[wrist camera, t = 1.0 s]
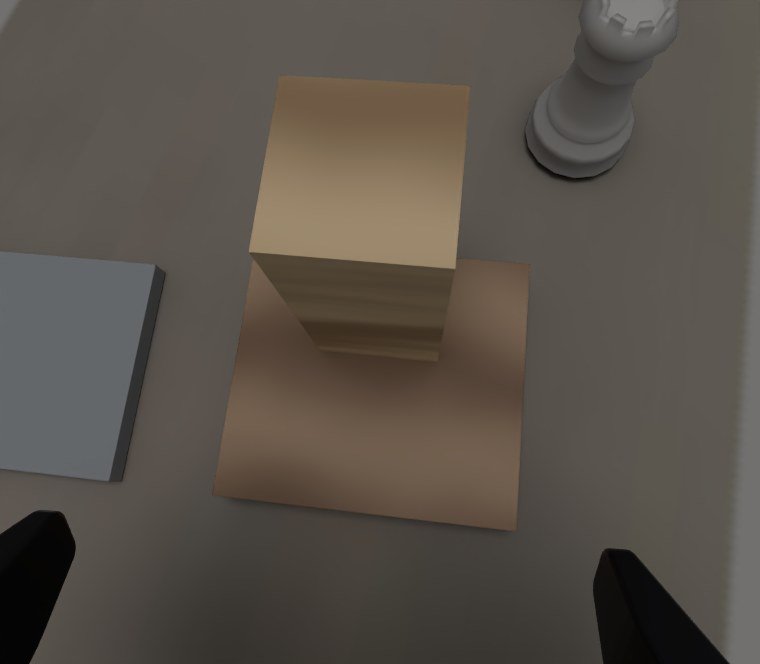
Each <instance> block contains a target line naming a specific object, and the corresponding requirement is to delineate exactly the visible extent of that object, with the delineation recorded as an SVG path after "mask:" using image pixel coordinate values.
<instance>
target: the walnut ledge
mask: <svg viewBox="0 0 760 664" xmlns="http://www.w3.org/2000/svg"><path fill="white" fill-rule="evenodd" d="M529 269H530V264H522V263H510V262H498V261H485V260H473V259H461V258H456V266H455V273H454V278H453V283H452V288H451V294H450V299H449V304H448V309H447V315H446V320H445V325H444V330H443V336H442V341H441V346H440V351H439V357H438V362H431V361H421V360H410V359H400V358H389V357H379V356H368V355H358V354H348V353H337V352H327V351H320V349H319V348H318V347H317V345H316V344H315V343H314V341H313V340H312V338H311V337H310V336H309V334H308V333H307V332H306V330H305V329H304V327H303V326H302V325H301V323H300V322H299V321H298V319H297V318H296V316H295V315H294V314H293V312H292V311H291V309H290V308H289V307H288V305H287V304H286V303H285V301H284V300H283V298H282V297H281V296H280V294H279V293H278V292H277V290H276V289H275V287H274V286H273V285H272V283H271V282H270V281H269V279H268V278H267V276H266V275H265V274H264V272H263V271H262V270H261V268H260V267H259V265H258V264H257V263H256V261H255V260H254V259H253V262H252V268H251V274H250V280H249V286H248V291H247V297H246V303H245V309H244V314H243V320H242V326H241V332H240V337H239V343H238V349H237V355H236V361H235V366H234V372H233V378H232V384H231V389H230V395H229V401H228V407H227V412H226V418H225V424H224V430H223V436H222V441H221V447H220V453H219V459H218V464H217V470H216V476H215V482H214V487H213V493H212V495H214V496H223V497H231V498H239V499H248V500H256V501H265V502H273V503H281V504H290V505H298V506H307V507H315V508H323V509H332V510H340V511H349V512H357V513H365V514H374V515H382V516H391V517H399V518H408V519H416V520H424V521H433V522H441V523H450V524H458V525H466V526H475V527H483V528H492V529H500V530H508V531H516V527H517V507H518V487H519V467H520V447H521V427H522V408H523V388H524V368H525V348H526V328H527V309H528V289H529Z"/></svg>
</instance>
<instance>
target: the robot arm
mask: <svg viewBox="0 0 760 664" xmlns="http://www.w3.org/2000/svg"><path fill="white" fill-rule="evenodd" d="M75 550H76V545H75V540H74V538H73V535H72V533H71V530H70V528H69V525H68V523H67V520H66V518H65V516H64V514H63V513H61V512H59V511H49V510H38V511H35V512H33V513H31V514H29V515H28V516H26V517H25V518H23V519H22V520H21V521H19V522H18V523H16V524H15V525H13V526H12V527H10V528H9V529H7V530H6V531H4V532H3V533H1V534H0V664H29V663H30V661H31V659H32V657H33V655H34V653H35V651H36V649H37V647H38V645H39V643H40V640H41V638H42V636H43V633H44V631H45V629H46V626H47V624H48V621H49V619H50V616H51V614H52V611H53V609H54V606H55V604H56V601H57V599H58V596H59V594H60V591H61V589H62V586H63V584H64V581H65V579H66V576H67V574H68V571H69V569H70V566H71V564H72V561H73V559H74V556H75ZM593 595H594V602H595V609H596V616H597V623H598V630H599V636H600V643H601V650H602V657H603V664H729V662H728V661H727V660H726V659H725V658H724V657H723V655H722V654H721V653H720V652H719V651H718V650H717V649H716V647H715V646H714V645H713V644H712V643H711V642H710V640H709V639H708V638H707V637H706V636H705V635H704V633H703V632H702V631H701V630H700V629H699V628H698V627H697V625H696V624H695V623H694V622H693V621H692V620H691V618H690V617H689V616H688V615H687V614H686V613H685V612H684V610H683V609H682V608H681V607H680V606H679V605H678V603H677V602H676V601H675V600H674V599H673V598H672V596H671V595H670V594H669V593H668V592H667V591H666V590H665V588H664V587H663V586H662V585H661V584H660V583H659V581H658V580H657V579H656V578H655V577H654V576H653V575H652V573H651V572H650V571H649V570H648V569H647V568H646V566H645V565H644V564H643V563H642V562H641V561H640V559H639V558H638V557H637V556H636V555H635V554H634V553H633V552H631V551H630V550H626V549H612V548H607V549H605V550H604V551H603V552H602V554H601V558H600V561H599V564H598V568H597V571H596V574H595V578H594V582H593Z"/></svg>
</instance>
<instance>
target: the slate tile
mask: <svg viewBox="0 0 760 664" xmlns="http://www.w3.org/2000/svg"><path fill="white" fill-rule="evenodd" d="M164 277H165V272H164V271H163V270H161V269H160V268H159V267H158V266H157V265H153V264H142V263H130V262H118V261H107V260H95V259H83V258H72V257H60V256H48V255H36V254H25V253H13V252H1V251H0V468H1V469H9V470H18V471H26V472H34V473H43V474H51V475H60V476H68V477H77V478H85V479H93V480H102V481H122V476H123V471H124V467H125V462H126V457H127V452H128V448H129V443H130V438H131V433H132V429H133V424H134V419H135V414H136V410H137V405H138V400H139V396H140V391H141V386H142V381H143V377H144V372H145V367H146V362H147V358H148V353H149V348H150V343H151V339H152V334H153V329H154V324H155V320H156V315H157V310H158V305H159V301H160V296H161V291H162V287H163V282H164Z"/></svg>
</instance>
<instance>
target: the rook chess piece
mask: <svg viewBox="0 0 760 664" xmlns="http://www.w3.org/2000/svg"><path fill="white" fill-rule="evenodd" d="M678 2H679V0H584V1H583V4H582V7H581V11H580V14H579V21H580V26H581V31H582V32H581V33H580V34H579V35H578V37H577V40H576V43H575V47H574V53H575V60H574V61H573V63H572V65H571V66H570V68H569V70H568V71H567V73H566V75H564V76H562V77H560V78H559V79H558V80H557V81H555V82H553V83H551V84H550V85H549V86H548V87H547V88H546V90H545V91H544V92H543V93H542V94H541V95H540V96H539V98H538V99H537V100H536V101H535V104H534V108H533V110H532V111H531V112H530V115H529V118H528V122H527V125H526V128H525V131H526V137H527V143H528V147H529V149H530V150H531V152H532V153H533V155H534V156H535V158H536V159H537V161H538V162H539V163H541V164H542V165H544V166H545V167H547V168H548V169H549V170H551V171H552V172H554V173H557V174H561V175H564V176H568V177H572V178H579V177H589V176H596V175H598V174H600V173H602V172H604V171H606V170H607V169H609V168H611V167H613V165H614V164H615V163H616V162H617V161H618V159H619V158H620V157H621V156H622V155H623V153H624V150H625V146H626V145H627V143H628V142H629V141H630V137H631V133H632V129H633V125H634V115H633V110H632V108H633V107H632V102H631V95H632V92H633V89H634V86H635V83H636V81H637V80H638V79H640V78H642V77H643V76H644V75H645V73H646V72H647V71H648V70H649V69H650V68H651V66H652V62H653V58H654V56H655V55H657V54H659V53H661V52H663V51H665V50H666V49H667V48H668V46H669V45H670V44H671V43H672V42H673V41H674V39H675V38H676V35H677V31H678V27H679V23H680V21H679V17H678V13H677V11H678V10H676V6H677V4H678Z"/></svg>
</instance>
